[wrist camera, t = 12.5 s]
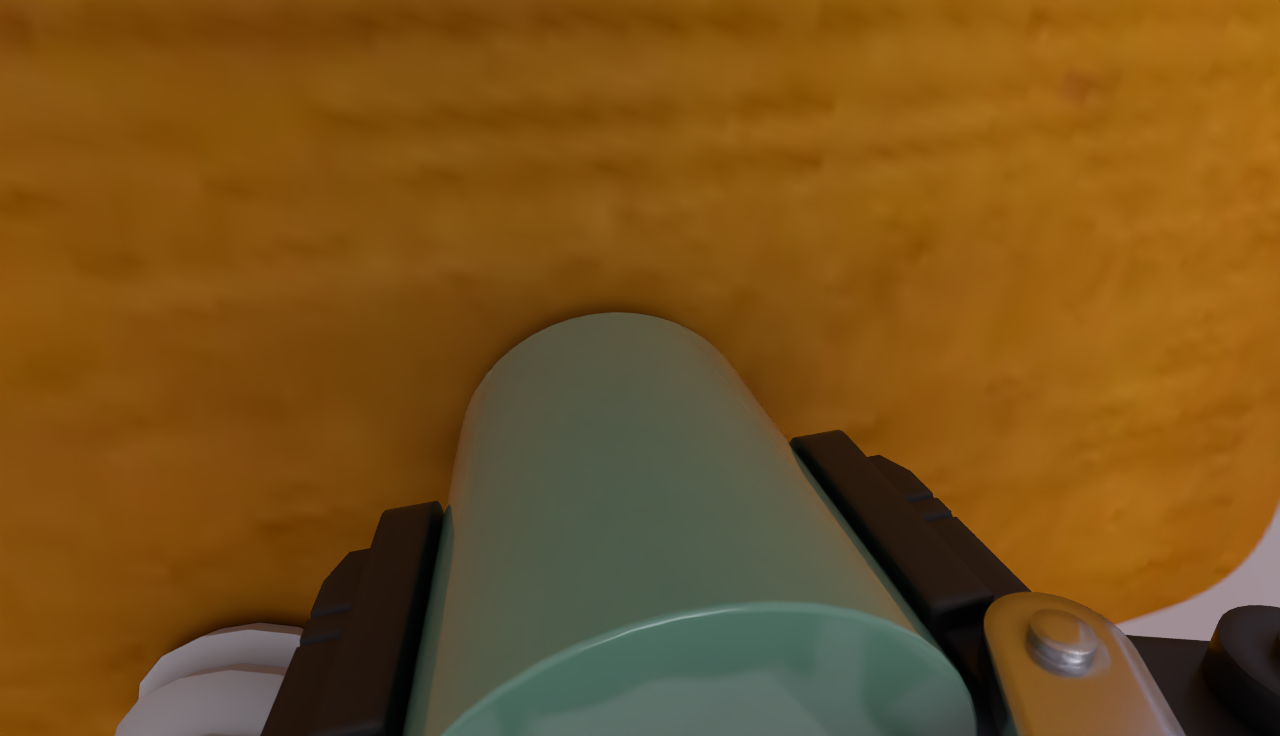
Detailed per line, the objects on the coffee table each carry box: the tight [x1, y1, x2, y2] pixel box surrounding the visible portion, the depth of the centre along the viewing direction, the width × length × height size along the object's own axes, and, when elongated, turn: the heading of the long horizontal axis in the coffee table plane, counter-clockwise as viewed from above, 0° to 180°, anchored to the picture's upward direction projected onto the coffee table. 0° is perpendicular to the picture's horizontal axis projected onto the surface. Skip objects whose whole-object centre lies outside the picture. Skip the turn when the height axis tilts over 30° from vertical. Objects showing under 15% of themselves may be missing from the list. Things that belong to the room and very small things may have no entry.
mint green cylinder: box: [402, 312, 979, 736], centre depth 8 cm, size 5×5×6 cm
